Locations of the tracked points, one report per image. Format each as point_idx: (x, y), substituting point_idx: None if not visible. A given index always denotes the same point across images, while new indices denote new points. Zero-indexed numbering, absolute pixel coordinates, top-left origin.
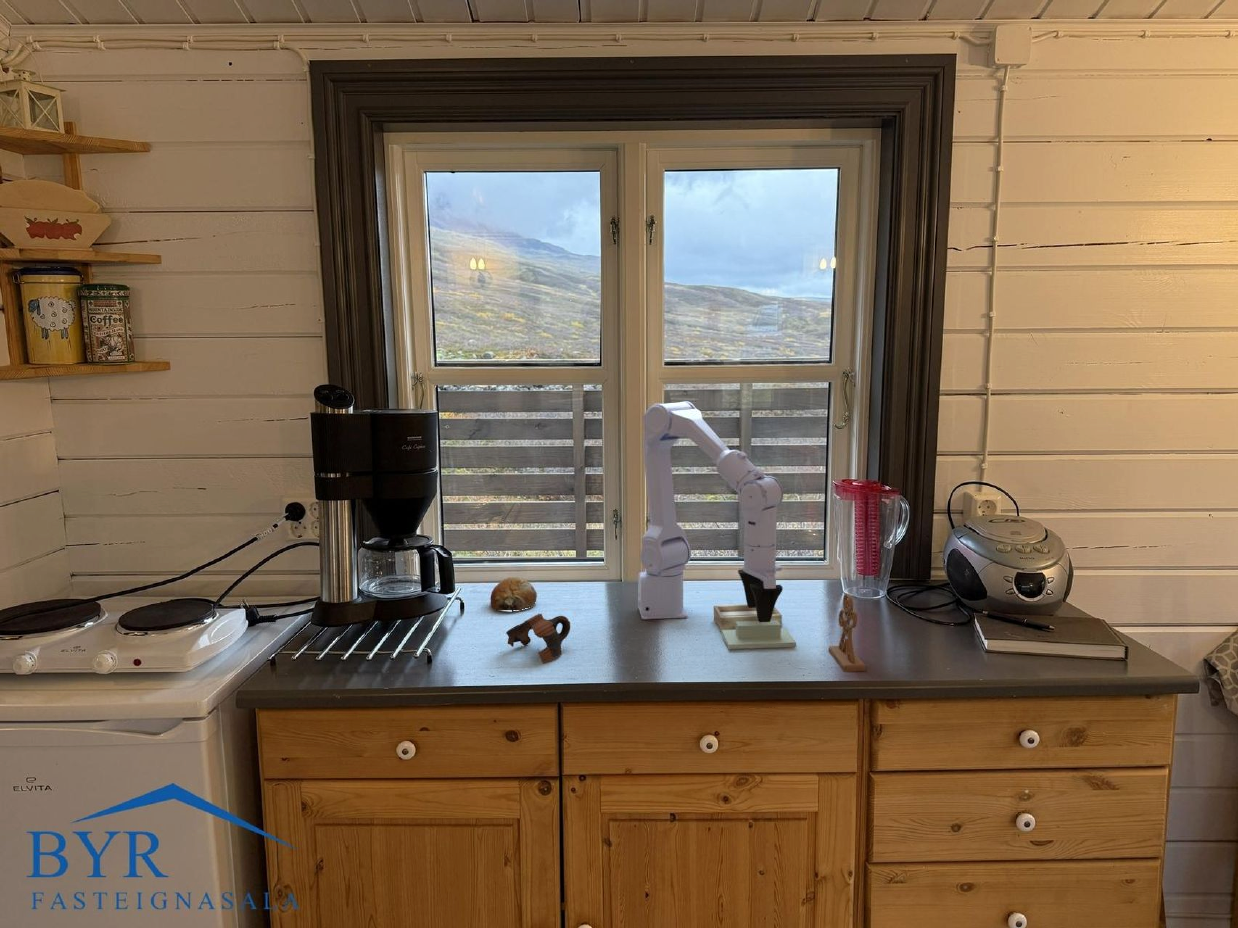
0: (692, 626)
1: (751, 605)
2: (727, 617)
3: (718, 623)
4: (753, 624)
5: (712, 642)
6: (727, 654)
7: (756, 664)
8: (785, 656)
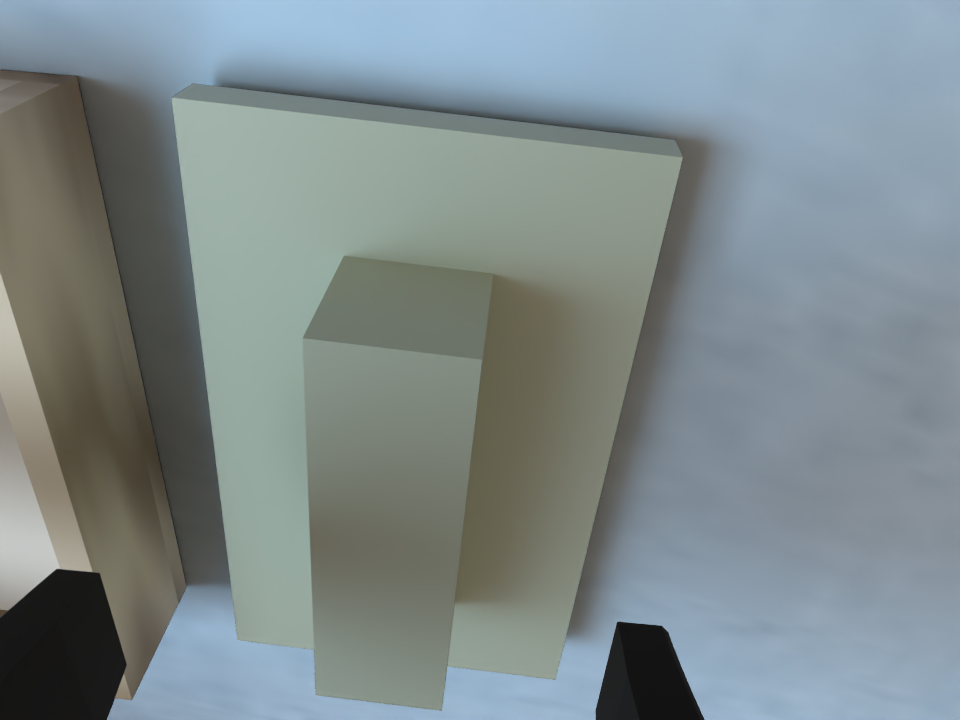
0: None
1: (108, 672)
2: None
3: None
4: (415, 600)
5: None
6: None
7: (870, 564)
8: (823, 313)
